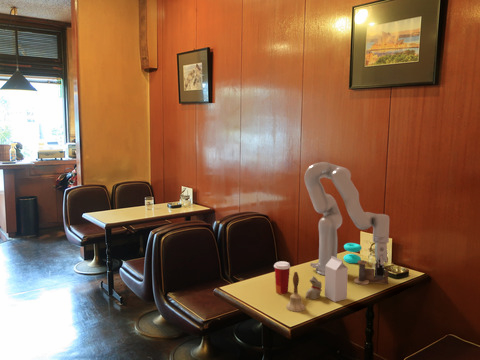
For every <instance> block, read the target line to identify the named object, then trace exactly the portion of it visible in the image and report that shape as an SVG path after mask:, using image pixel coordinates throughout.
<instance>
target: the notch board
mask: <svg viewBox="0 0 480 360" xmlns="http://www.w3.org/2000/svg"><path fill="white" fill-rule="evenodd" d="M389 272H390V271H389V270H388V269H384V279H375V268H368V267H367V268H366V267H365V279H367V280H369V284H370V283H371V284H383V285H389V275H390V274H389Z"/></svg>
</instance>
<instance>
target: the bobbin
mask: <svg viewBox="0 0 480 360" xmlns="http://www.w3.org/2000/svg"><path fill="white" fill-rule="evenodd" d="M357 264H358V265H359V267H358V277H355V278H354V279H353V280H354V281H353V282H354V283H355V284H356V285H361V286H367V285H369V284H370V282H369V280H367V279H365V268H366V265H367V264H368V261H366V260H363V259H361V260H359V261H358V263H357Z"/></svg>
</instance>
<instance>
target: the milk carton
mask: <svg viewBox="0 0 480 360" xmlns="http://www.w3.org/2000/svg"><path fill="white" fill-rule="evenodd" d="M348 269H349V267H347V266H346V264H344V261H343V259H341V258H338V257H337V258H336V257H333V256H331V259H330V260H329V262H328V263H327V264H326V265H325V275H324V297H325V298H327V299H329V300H330V301H332V302H333V303H336V302H340V301H343V300H347V298H348V297H347V296H348V276H349V275H348V273H349V271H348Z"/></svg>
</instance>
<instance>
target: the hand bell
mask: <svg viewBox="0 0 480 360" xmlns="http://www.w3.org/2000/svg"><path fill="white" fill-rule="evenodd" d="M292 283H293V284H292V285H293V293H292V294H290V297H289V299H290V300H289V302H288V303H287V304H286V307H285V308H286V309H287V310H288V311H289V312H295V313H299V312H300V313H301V312H303V311H305V309H306V306H305V305H304V304H303V301H302V296H301V294H299V291H298V289H299V287H298V286H299V283H300V277H299V274H298V272H297V271H294V273H293V275H292Z"/></svg>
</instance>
